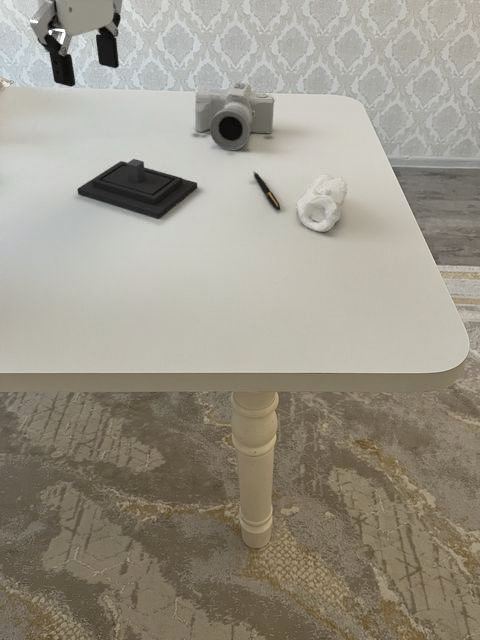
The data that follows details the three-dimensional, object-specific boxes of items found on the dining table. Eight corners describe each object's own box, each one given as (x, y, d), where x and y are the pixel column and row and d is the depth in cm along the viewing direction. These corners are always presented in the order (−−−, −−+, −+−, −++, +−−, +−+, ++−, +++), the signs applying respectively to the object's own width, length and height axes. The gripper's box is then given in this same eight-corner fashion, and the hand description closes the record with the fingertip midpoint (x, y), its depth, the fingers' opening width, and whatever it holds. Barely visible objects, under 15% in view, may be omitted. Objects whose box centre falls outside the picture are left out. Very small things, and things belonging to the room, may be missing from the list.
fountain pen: (250, 174, 107) (250, 166, 106) (256, 173, 107) (256, 166, 106) (276, 214, 97) (276, 205, 96) (282, 213, 97) (283, 204, 96)
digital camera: (183, 160, 118) (168, 110, 111) (209, 131, 127) (197, 83, 121) (260, 157, 112) (250, 104, 105) (282, 126, 121) (274, 76, 115)
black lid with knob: (102, 185, 99) (98, 162, 96) (123, 171, 103) (121, 148, 100) (152, 200, 96) (150, 177, 93) (172, 185, 100) (171, 162, 97)
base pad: (78, 194, 99) (75, 181, 97) (121, 166, 107) (119, 154, 105) (158, 219, 94) (157, 206, 93) (197, 188, 102) (197, 176, 101)
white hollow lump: (318, 194, 103) (351, 161, 97) (336, 251, 98) (373, 220, 92) (280, 181, 97) (313, 146, 92) (298, 240, 93) (334, 208, 87)
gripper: (88, -82, 79) (104, 55, 91) (-8, -69, 68) (23, 86, 79) (135, -75, 77) (145, 64, 89) (43, -61, 65) (68, 98, 77)
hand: (87, 74), depth 84 cm, fingers open, 9 cm apart
